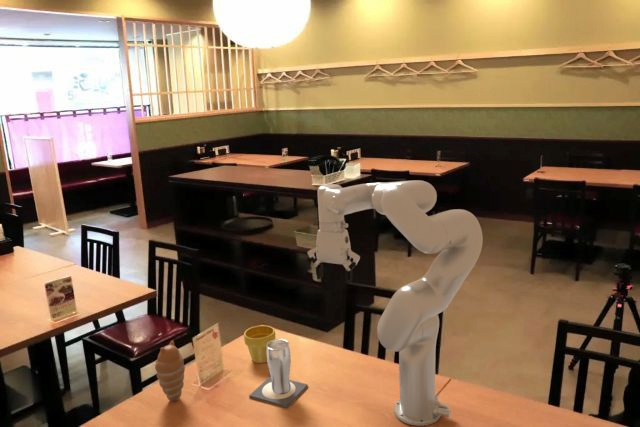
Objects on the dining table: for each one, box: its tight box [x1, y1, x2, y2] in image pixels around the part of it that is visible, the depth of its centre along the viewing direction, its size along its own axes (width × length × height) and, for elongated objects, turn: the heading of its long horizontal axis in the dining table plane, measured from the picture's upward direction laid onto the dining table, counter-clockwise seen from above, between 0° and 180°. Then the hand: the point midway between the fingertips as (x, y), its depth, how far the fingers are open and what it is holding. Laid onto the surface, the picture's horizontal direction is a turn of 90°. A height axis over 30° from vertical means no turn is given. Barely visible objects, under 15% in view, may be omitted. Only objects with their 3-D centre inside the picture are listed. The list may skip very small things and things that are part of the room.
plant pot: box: [243, 324, 276, 364], centre depth 177 cm, size 10×10×10 cm
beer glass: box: [266, 338, 292, 396], centre depth 155 cm, size 7×7×15 cm
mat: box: [248, 375, 309, 409], centre depth 157 cm, size 13×12×1 cm
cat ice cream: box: [154, 339, 186, 402], centre depth 154 cm, size 9×8×18 cm
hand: (334, 279), depth 162 cm, fingers open, 9 cm apart
